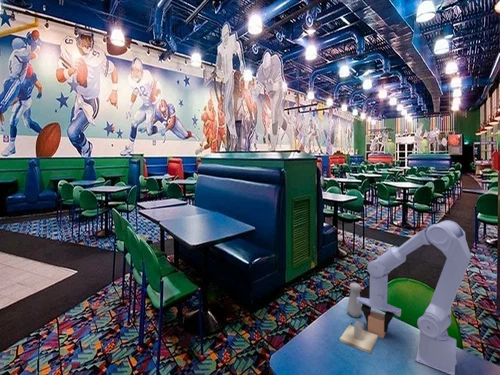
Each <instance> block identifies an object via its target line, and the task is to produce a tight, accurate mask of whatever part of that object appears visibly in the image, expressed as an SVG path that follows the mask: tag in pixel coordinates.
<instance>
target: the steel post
mask: <svg viewBox="0 0 500 375" xmlns="http://www.w3.org/2000/svg"><path fill="white" fill-rule="evenodd" d="M353 325H354V337H355V338H357V339H360V340H362V339H363V337H364V330H365V322H363V321H360V320H355V322H354V324H353Z"/></svg>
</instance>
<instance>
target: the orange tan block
mask: <svg viewBox="0 0 500 375" xmlns="http://www.w3.org/2000/svg"><path fill="white" fill-rule="evenodd" d="M384 315H385V313H381V312H377V311H374V310H371V313H370V314H369V316H368V326H367V332H370V333H373V334H376V335H378V338H381V339H384V338H385V336H386V333H387V332H384V327H385V317H384Z"/></svg>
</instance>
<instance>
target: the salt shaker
mask: <svg viewBox="0 0 500 375" xmlns="http://www.w3.org/2000/svg"><path fill="white" fill-rule="evenodd" d="M361 287H362V286H361V285H360V283H357V282H351V283H350V284H349V287H348V288H349V289H350V293H349V297H348V302H347V306H346V309H347V312H348V314H349V316H351V317H353V318H359V317H360V316H361V315H362V313H363V311H362V310H361V307H362V304H357V297H361V294H360V291H361Z"/></svg>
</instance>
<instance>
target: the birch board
mask: <svg viewBox="0 0 500 375" xmlns="http://www.w3.org/2000/svg"><path fill="white" fill-rule="evenodd" d="M378 339H379V337H378V335H376V334H373V333H370V332H368V330H365V329H364V337H363V339H362V340H360V339H357V338H355V337H354V326H353V325H350V324H349V325H348V326H347V327H346V329H345V330H344V332H343V333H342V335H341V336H340V337H339V342H341V343H342V344H345V345H348V346H350V347H353V348H355V349H357V350H359V351H362V352H365V353H367V354H370V355H371V354H372V351H373V349H374V348H375V345H376V342H377V340H378Z"/></svg>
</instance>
